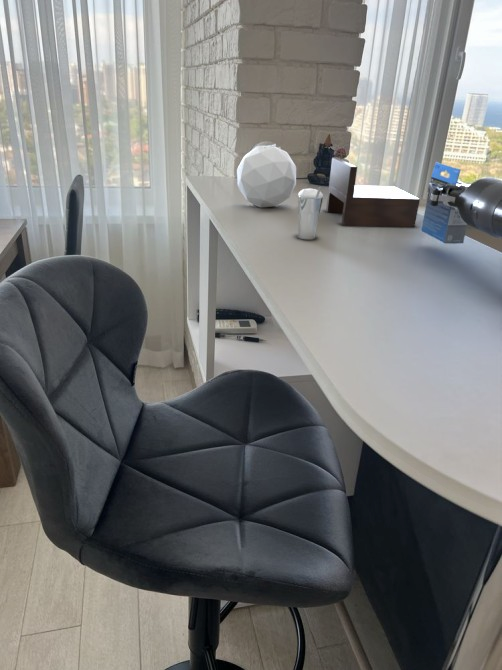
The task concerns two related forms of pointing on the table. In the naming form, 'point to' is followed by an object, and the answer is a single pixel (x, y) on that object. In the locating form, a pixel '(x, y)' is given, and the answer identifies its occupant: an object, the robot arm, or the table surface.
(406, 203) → the l-shaped wooden block
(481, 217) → the robot arm
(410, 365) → the table surface
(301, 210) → the milkshake
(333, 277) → the table surface
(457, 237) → the label tape box
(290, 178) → the geodesic sphere
